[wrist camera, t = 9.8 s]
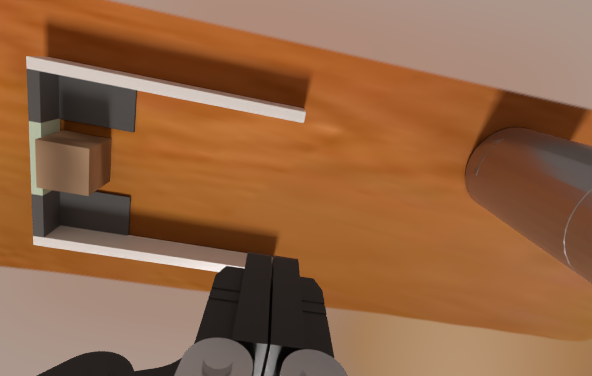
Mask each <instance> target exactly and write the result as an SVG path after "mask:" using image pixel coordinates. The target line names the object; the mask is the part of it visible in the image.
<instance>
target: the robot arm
mask: <svg viewBox="0 0 592 376" xmlns="http://www.w3.org/2000/svg"><path fill="white" fill-rule="evenodd" d="M465 179H466V186H467V189H468V192H469V194H470V195H471V197H472V198H473V199H474V200H475V201H476V202H477V203H478V204H479V205H481V206H482V207H484V208H485V209H487V210H488V211H489V212H491V213H492V214H494V215H495V216H496V217H498V218H499V219H500V220H502V221H503V222H505V223H506V224H508V225H509V226H510V227H512V228H513V229H515V230H516V231H518V232H519V233H520V234H522V235H523V236H525V237H526V238H528V239H529V240H530V241H532V242H533V243H535V244H536V245H537V246H539V247H540V248H542V249H543V250H545V251H546V252H547V253H549V254H550V255H552V256H553V257H555V258H556V259H557V260H559V261H560V262H562V263H563V264H564V265H566V266H567V267H569V268H570V269H572V270H573V271H574V272H576V273H577V274H579V275H580V276H582V277H583V278H585V279H586V280H588V281H589V282H590V283H592V146H590V145H586V144H582V143H578V142H575V141H571V140H567V139H563V138H560V137H556V136H553V135H549V134H545V133H541V132H538V131H534V130H530V129H526V128H518V127H515V128H507V129H504V130H501V131H498V132H496V133H494V134H492V135H490V136H489V137H487V138H486V139H485V140H484V141H482V142H481V143H480V144H479V146H478V147H477V148H476V149H475V150H474V152H473V154H472V155H471V157H470V159H469V162H468V164H467V167H466V174H465ZM37 376H347V374H346V372H345V370H344V368H343V367H342V366H341V365H340V363H338V362H337V361H336V360H335V359H334V354H333V349H332V343H331V337H330V332H329V327H328V321H327V317H326V309H325V306H324V298H323V292H322V290H321V288H320V287H319V286H318V284H317V283H316V282H315V280H314V279H312V278H305V277H300V275H299V263H298V259H293V258H287V257H281V256H273V259H272V255H267V254H261V253H254V252H247V258H246V264H245V268H238V267H232V266H226V267H224V268H223V269H222V270H221V271H220V272H219V273H217V274H216V276H215V279H214V282H213V286H212V290H211V292H210V296H209V299H208V302H207V305H206V308H205V311H204V315H203V318H202V321H201V324H200V327H199V331H198V334H197V337H196V340H195V343H194V345H192V346H191V347H190V348H189V349H188V350H187V351H186V352H185V353H184V355H183V357H182V358H181V359H179V360H178V361H176V362H174V363H172V364H170V365H166V366H164V367H159V368H154V369H147V370H140V371H134V370H133V367H132V365H131V363H130V362H129V361H128V360H127V359H126V358H125V357H123V356H121V355H119V354H116V353H113V352H105V351H104V352H103V351H102V352H100V351H98V352H90V353H85V354H82V355H79V356H76V357H74V358H72V359H69V360H67V361H66V362H63V363H61V364H59V365H57V366H55V367H53V368H51V369H49V370H47V371H46V372H43V373H41V374H39V375H37Z"/></svg>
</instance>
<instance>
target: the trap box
mask: <svg viewBox="0 0 592 376" xmlns="http://www.w3.org/2000/svg"><path fill="white" fill-rule="evenodd" d="M26 61H27V88H28V114H29V121H32V122H37V123H43V122H47V121H51V120H55V119H64V120H70V121H75V122H80V123H86V124H91V125H97V126H102V127H108V128H113V129H118V130H124V131H129V132H135V114H136V97H137V90H138V91H143V92H149V93H154V94H159V95H164V96H169V97H174V98H179V99H184V100H189V101H194V102H199V103H204V104H209V105H215V106H220V107H225V108H230V109H235V110H240V111H245V112H250V113H255V114H260V115H265V116H270V117H275V118H281V119H286V120H291V121H296V122H301V123H304V119H305V115H306V111H305V110H304V108H300V107H295V106H290V105H285V104H280V103H275V102H270V101H265V100H260V99H255V98H250V97H245V96H240V95H235V94H230V93H225V92H221V91H216V90H211V89H206V88H201V87H196V86H191V85H186V84H181V83H176V82H171V81H166V80H161V79H156V78H151V77H146V76H141V75H136V74H131V73H126V72H121V71H116V70H111V69H106V68H101V67H96V66H92V65H87V64H82V63H77V62H72V61H67V60H62V59H57V58H52V57H39V56H26ZM130 202H131V197H128V196H122V195H116V194H110V193H103V192H97V191H95V192H94V193H92V194H91V195H89V196H85V195H79V194H73V193H67V192H60V191H54V190H52V191H50V192H48V193H47V194H45V195H43V196H41V195H35V194H32V218H33V244H34V245H38V246H45V247H52V248H59V249H66V250H72V251H79V252H86V253H93V254H100V255H106V256H113V257H120V258H127V259H134V260H141V261H147V262H154V263H161V264H168V265H175V266H181V267H188V268H195V269H202V270H209V271H216V272H220V271H221V270H222V269H223V268H224V267H226V266H232V267H238V268H245V264H246V258H247V253H243V252H236V251H230V250H223V249H217V248H210V247H204V246H197V245H191V244H184V243H178V242H171V241H165V240H158V239H152V238H145V237H139V236H132V235H129V219H130ZM272 259H273V257H272Z"/></svg>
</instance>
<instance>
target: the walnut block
mask: <svg viewBox="0 0 592 376" xmlns="http://www.w3.org/2000/svg"><path fill="white" fill-rule="evenodd" d="M35 155H36V185H37V188H42V189H48V190H54V191H60V192H67V193H73V194H79V195H85V196H89V195H91V194H92V193H94V192H95V191H96V190H98V189H99V188H101V187H102V186H104V185H105V184H106V183H108V182H109V181H110V164H111V139H110V138H104V137H99V136H93V135H88V134H82V133H77V132H71V131H66V130H63V131H60V132H56V133H53V134H50V135H47V136H44V137H41V138H37V139H35Z"/></svg>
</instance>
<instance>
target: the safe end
mask: <svg viewBox="0 0 592 376" xmlns="http://www.w3.org/2000/svg"><path fill="white" fill-rule="evenodd" d="M56 132H60V119H55V120H51V121H47V122H43V123H37V122H32V121H29V139H30V165H31V191H32V194H35V195H41V196H43V195H45V194H47V193H48V192H50V191H52V190H48V189H42V188H37V185H36V155H35V139H37V138H41V137H44V136H47V135H50V134H53V133H56Z"/></svg>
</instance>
